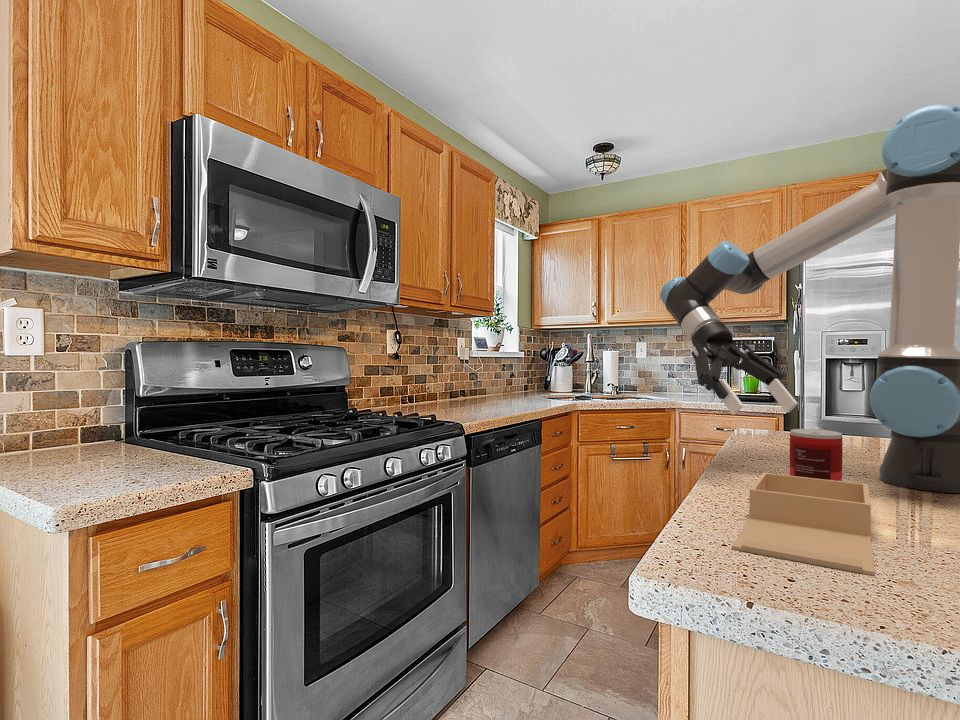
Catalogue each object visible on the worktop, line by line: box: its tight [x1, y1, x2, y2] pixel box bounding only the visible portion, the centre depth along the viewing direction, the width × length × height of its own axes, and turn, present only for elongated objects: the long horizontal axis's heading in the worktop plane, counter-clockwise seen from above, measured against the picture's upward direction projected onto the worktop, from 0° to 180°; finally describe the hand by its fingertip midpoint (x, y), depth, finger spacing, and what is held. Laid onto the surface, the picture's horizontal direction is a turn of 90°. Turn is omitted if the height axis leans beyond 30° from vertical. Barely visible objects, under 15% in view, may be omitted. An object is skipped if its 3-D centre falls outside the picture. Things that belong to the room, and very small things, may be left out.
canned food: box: [789, 428, 844, 481], centre depth 93 cm, size 8×8×11 cm
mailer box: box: [731, 472, 876, 577], centre depth 74 cm, size 28×14×4 cm, turn 146°
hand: (765, 409), depth 102 cm, fingers open, 13 cm apart
